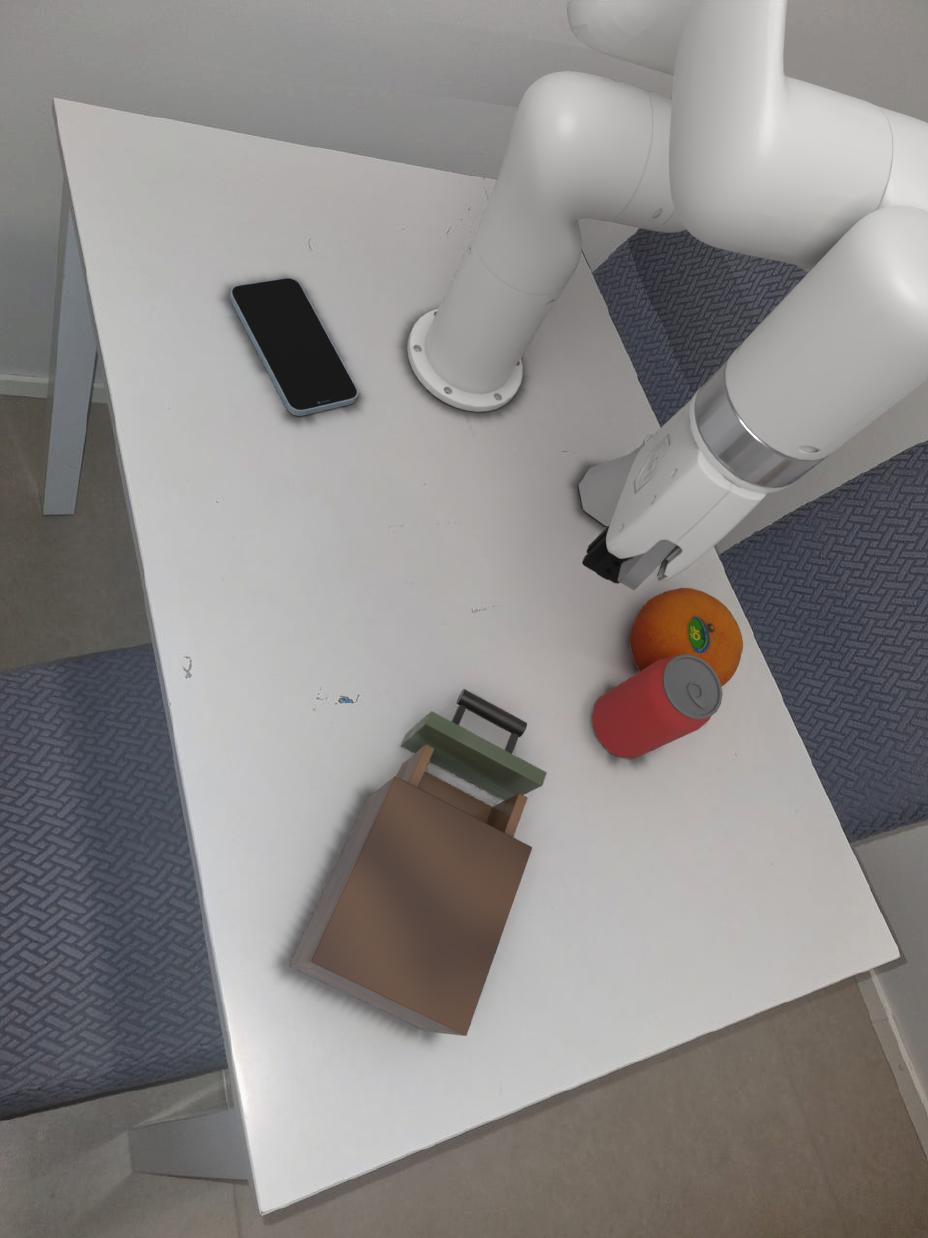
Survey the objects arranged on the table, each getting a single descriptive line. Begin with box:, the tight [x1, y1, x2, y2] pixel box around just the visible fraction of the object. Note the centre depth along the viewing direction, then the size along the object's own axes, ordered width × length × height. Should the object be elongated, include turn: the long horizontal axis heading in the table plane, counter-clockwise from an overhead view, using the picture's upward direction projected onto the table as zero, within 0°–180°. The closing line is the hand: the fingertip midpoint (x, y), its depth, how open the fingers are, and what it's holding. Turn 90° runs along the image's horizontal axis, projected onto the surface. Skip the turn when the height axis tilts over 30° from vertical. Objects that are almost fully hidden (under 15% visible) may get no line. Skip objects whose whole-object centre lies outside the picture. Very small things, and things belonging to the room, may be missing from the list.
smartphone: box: [229, 276, 359, 417], centre depth 84 cm, size 7×1×15 cm
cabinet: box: [288, 775, 533, 1037], centre depth 64 cm, size 14×12×9 cm
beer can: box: [591, 654, 723, 759], centre depth 76 cm, size 7×7×12 cm
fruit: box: [629, 587, 744, 687], centre depth 82 cm, size 11×10×8 cm
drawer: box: [396, 688, 547, 838], centre depth 68 cm, size 17×10×7 cm, turn 157°
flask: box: [578, 432, 656, 527], centre depth 87 cm, size 7×7×10 cm
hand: (602, 565), depth 63 cm, fingers closed
